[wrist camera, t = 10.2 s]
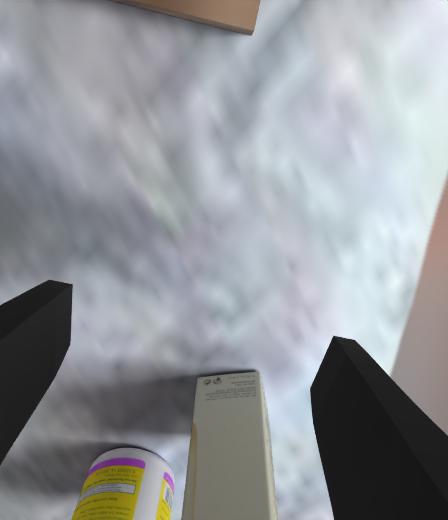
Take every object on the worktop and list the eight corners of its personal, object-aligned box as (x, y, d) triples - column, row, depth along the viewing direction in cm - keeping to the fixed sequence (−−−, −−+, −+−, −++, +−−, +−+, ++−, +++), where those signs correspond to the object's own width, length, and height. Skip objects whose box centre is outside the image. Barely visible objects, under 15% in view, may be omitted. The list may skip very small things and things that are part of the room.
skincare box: (195, 374, 25) (162, 612, 14) (261, 368, 25) (280, 609, 14) (212, 440, 28) (196, 679, 17) (271, 435, 27) (293, 678, 17)
